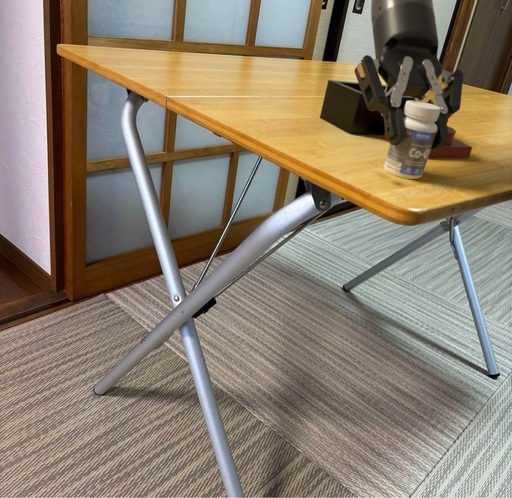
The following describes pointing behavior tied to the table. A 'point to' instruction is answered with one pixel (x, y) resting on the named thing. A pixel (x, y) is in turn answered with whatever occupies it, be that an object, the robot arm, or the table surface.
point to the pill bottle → (413, 141)
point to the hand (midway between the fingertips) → (418, 143)
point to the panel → (448, 147)
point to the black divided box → (353, 109)
